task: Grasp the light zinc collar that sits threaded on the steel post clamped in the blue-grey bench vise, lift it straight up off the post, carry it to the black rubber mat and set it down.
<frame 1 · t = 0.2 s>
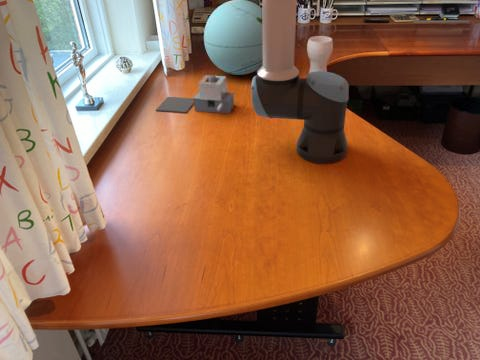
hand: (299, 14, 148), 28 cm above the table, fingers open, 13 cm apart
globe: (240, 73, 179), on the table
vise: (214, 108, 150), on the table
cup: (317, 74, 174), on the table
collar: (213, 95, 147), point 5 cm above the table, touching vise
mat: (176, 105, 153), on the table
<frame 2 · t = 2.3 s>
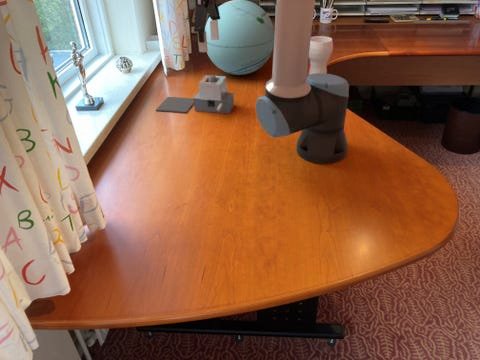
hand: (209, 45, 137), 23 cm above the table, fingers open, 13 cm apart
nothing on the table moved.
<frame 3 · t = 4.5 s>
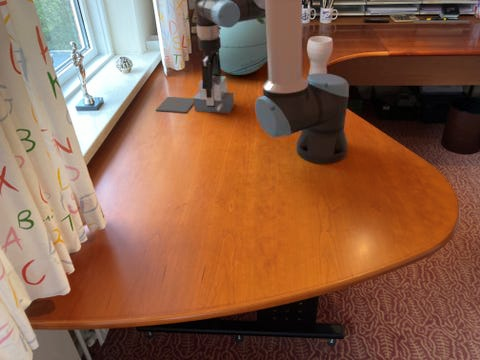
hand: (213, 100, 148), 3 cm above the table, fingers closed on collar, 8 cm apart
collar: (213, 95, 147), point 5 cm above the table, touching gripper, vise
everything else where it was.
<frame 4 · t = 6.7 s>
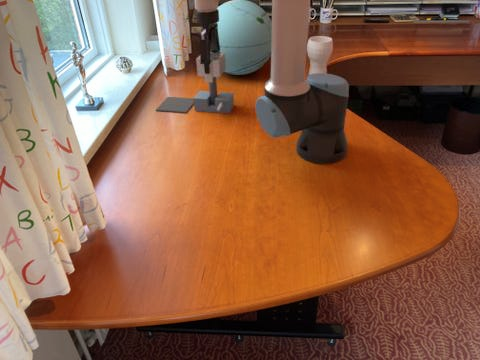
hand: (212, 77, 143), 12 cm above the table, fingers closed on collar, 8 cm apart
collar: (212, 72, 142), point 14 cm above the table, touching gripper
everything else where it was.
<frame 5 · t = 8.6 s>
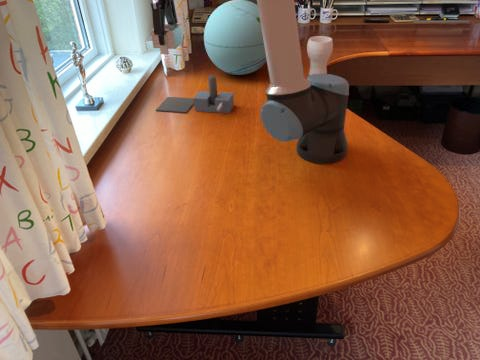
hand: (169, 50, 141), 21 cm above the table, fingers closed on collar, 8 cm apart
collar: (168, 44, 140), point 23 cm above the table, touching gripper
everything else where it was.
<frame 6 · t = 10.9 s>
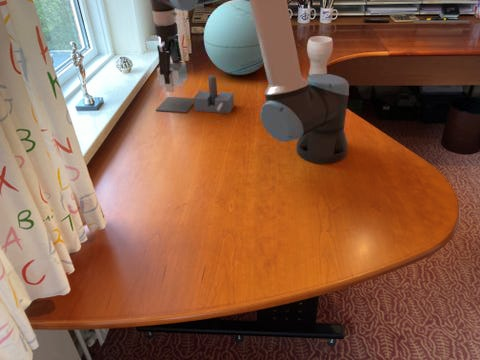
hand: (174, 86, 149), 7 cm above the table, fingers closed on collar, 8 cm apart
collar: (173, 82, 148), point 9 cm above the table, touching gripper
everything else where it was.
when the fingers open (2 cm above the table, at t = 13.0 s): collar drops 3 cm, resting on mat.
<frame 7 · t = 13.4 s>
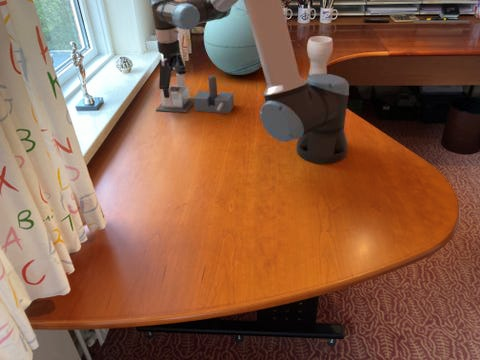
hand: (175, 97, 151), 3 cm above the table, fingers open, 13 cm apart
collar: (176, 104, 153), point 1 cm above the table, touching mat
everything else where it was.
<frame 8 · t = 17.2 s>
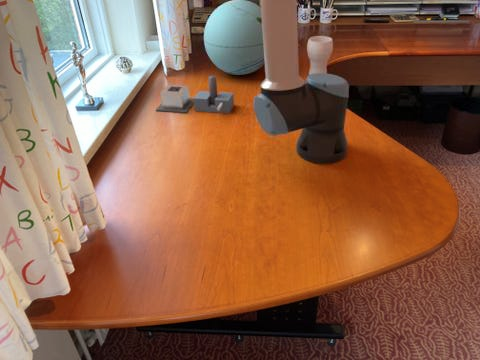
hand: (204, 2, 139), 35 cm above the table, fingers open, 13 cm apart
nothing on the table moved.
at the end: collar inside the target area on the mat (0.0 cm from its centre), point 0.6 cm above the mat's base; collar touching mat; the gripper is holding nothing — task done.
